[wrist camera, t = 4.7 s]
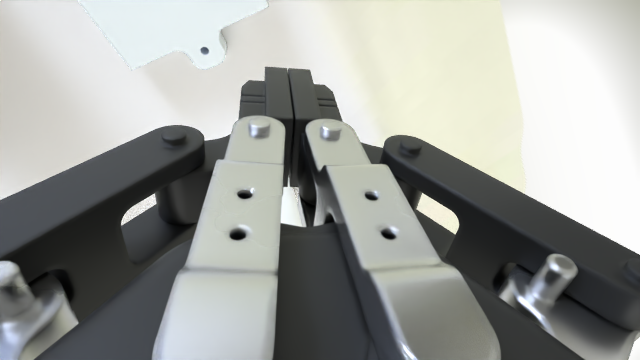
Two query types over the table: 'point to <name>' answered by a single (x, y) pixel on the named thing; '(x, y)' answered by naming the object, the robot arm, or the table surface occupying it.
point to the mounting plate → (169, 27)
